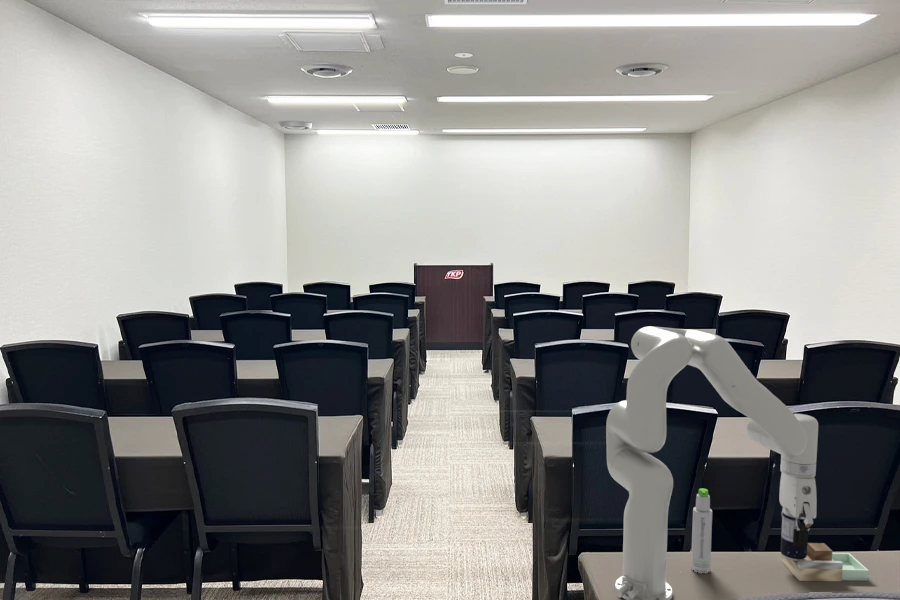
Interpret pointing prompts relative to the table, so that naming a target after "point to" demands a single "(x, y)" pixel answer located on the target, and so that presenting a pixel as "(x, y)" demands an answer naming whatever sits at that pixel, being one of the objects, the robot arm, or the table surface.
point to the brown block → (819, 552)
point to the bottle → (701, 533)
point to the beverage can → (791, 538)
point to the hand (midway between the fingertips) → (794, 538)
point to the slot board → (814, 569)
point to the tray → (851, 567)
